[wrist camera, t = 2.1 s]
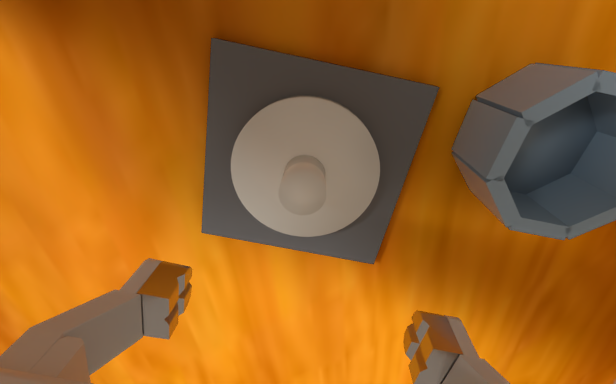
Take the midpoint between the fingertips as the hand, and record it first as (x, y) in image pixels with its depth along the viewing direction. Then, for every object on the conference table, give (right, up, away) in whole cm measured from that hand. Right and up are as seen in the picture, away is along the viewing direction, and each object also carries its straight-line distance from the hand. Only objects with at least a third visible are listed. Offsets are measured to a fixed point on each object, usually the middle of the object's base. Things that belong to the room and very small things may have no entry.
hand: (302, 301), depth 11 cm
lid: (0, +6, +10) cm, 12 cm away
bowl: (+15, +8, +10) cm, 19 cm away
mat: (0, +6, +11) cm, 12 cm away
